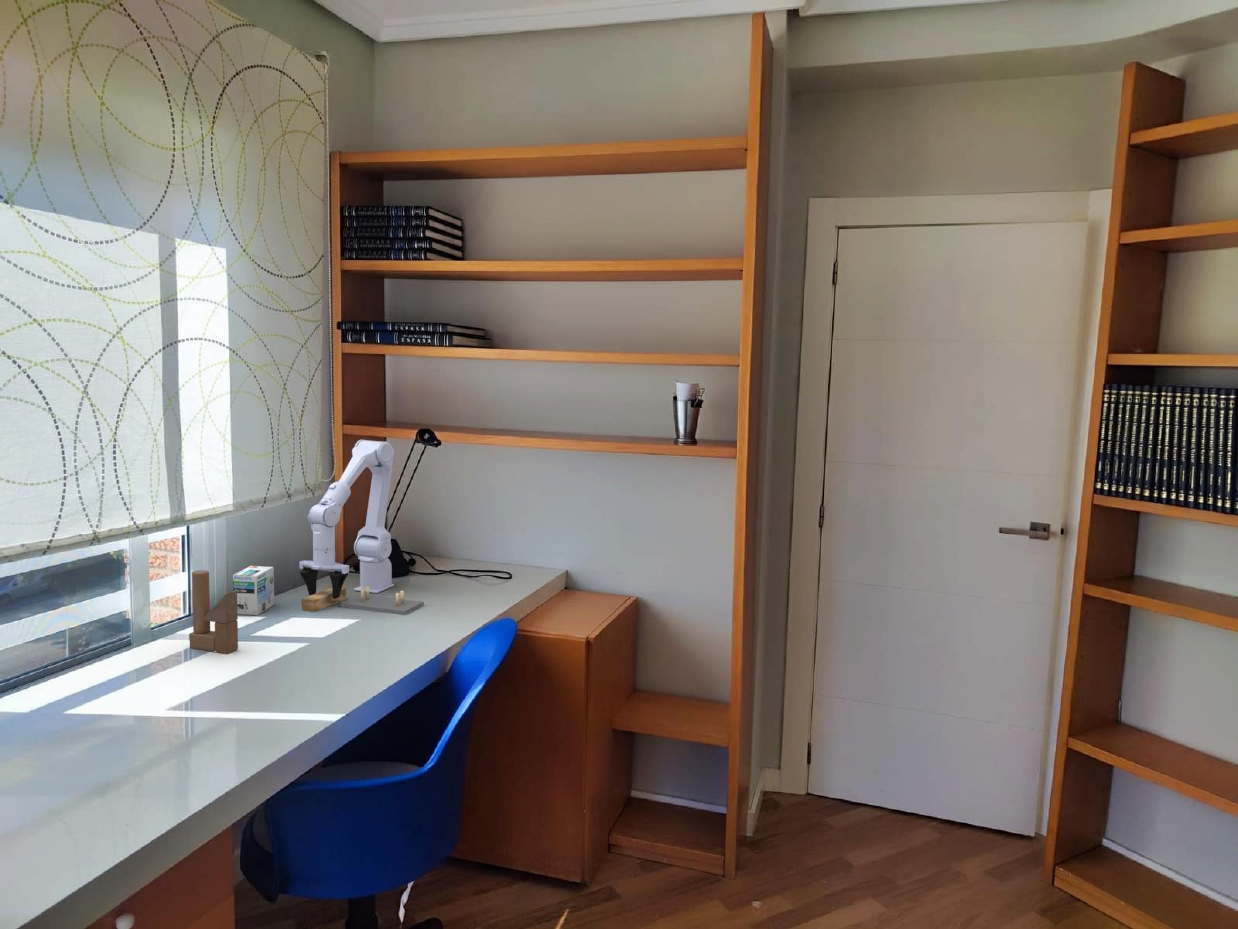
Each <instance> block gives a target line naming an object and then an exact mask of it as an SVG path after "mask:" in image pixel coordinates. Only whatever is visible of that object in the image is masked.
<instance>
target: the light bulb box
mask: <svg viewBox="0 0 1238 929" xmlns="http://www.w3.org/2000/svg"><path fill="white" fill-rule="evenodd" d="M274 572H275V568H274V566H260V565H249V566H248V567H246V568H243V569H242V570H240V571H239V572H236V573H234V574H232V589H233V590H232V592H233V591H236V590H237V614H238V615H243V616H244V615H247V616H248V615H249V616H259V615H260V614H262V613H264V612H265V611H267V610H268V609H270V608H272V607H273V606H275V573H274Z"/></svg>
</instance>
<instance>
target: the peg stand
mask: <svg viewBox="0 0 1238 929" xmlns="http://www.w3.org/2000/svg"><path fill="white" fill-rule="evenodd" d="M339 603H340V604H339V606H341V608H350V609H355V610H356V609H357V610H363V609H364V610H365V611H371V610H372V611H374V612H380V613H386V614H387V613H390V614H394V613H396V614H395V615H402V614H403V615H404V616H406V615H407V613H408V614H410V613H411V612H413V611H415V610H417V609H419V608H421V607H423V606H424V605H425V602H424V601H422V600H413V599H412V600H411V599H406V598H405V590H400V592H395V597H389V596H380V595H375V594H373V595H372V594H370V592H369V586H366V592H364V588H362V589H361V591H360V594H358V595H356V596H354V597H351V598H348V599H345V600H343V601H340V602H339ZM422 605H423V606H422ZM420 606H421V607H420ZM403 615H402V616H403Z"/></svg>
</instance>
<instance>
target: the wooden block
mask: <svg viewBox="0 0 1238 929" xmlns="http://www.w3.org/2000/svg"><path fill="white" fill-rule="evenodd" d="M191 586H192V587H191V588H192V592H191V594H192V596H191V597H192V623H193V624H192V626H193V631H192V632H190V633H189V648H190V649H195V648H196V650H202V651H207V650H210V651H209V652H213V651H216V653H218V652H220V653H219V654H224V653H225V654H226V655H228V654H230V652H231V653H233V652H235V651H238V650H239V635H238V633H239V632H238V631H239V630H238V629H239V628H238V627H239V625H238V624H239V623H238V618H239V617H238V615H239V614H237V590H236V591H233V590H232V591H229V592H227V593H224V595H223V596H222V597H221V598H220V599H219V600H218V601H217V603H216V604H215V605H213V607H212V608H211V598H210V597H211V596H210V594H211V593H210V592H211V590H210V571H209V570H206V569H199V570H194V571H192V572H191ZM211 622H212V623H214V630H211ZM237 649H238V650H237ZM234 650H235V651H234ZM225 654H224V655H225Z"/></svg>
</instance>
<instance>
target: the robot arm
mask: <svg viewBox="0 0 1238 929" xmlns="http://www.w3.org/2000/svg"><path fill="white" fill-rule="evenodd" d="M351 454H352V455H351V456H352V457H351V459H350V461H349V462H348V464H347V465H346V467H345V469H344V471H343V472H342V474H341V477H340V479H339V480H337V481H334V482H332V483H330V486H328V489H327V490H326V492H325V493H324V495H323V496H322V498H321V499H320V501H319V502H318V503H317V504H314V505H313V506H311V508H310V509H309V512H308V514H307V520H308V522H309V524H310V527H311V528H310V529H311V531H312V560H305V559H304V560H301V561H299V569H300V570H301V571H299V574H300V576H301V577H302V580H303V581H304V583H305V586H306V588H307V589H306V590H307V592H308V596H311V595H313V594H316V593H317V580H318V574H319V571H324V572H332V573H330V574H329V579H330V582H331V588H332V596H333V599H336V598H339V597H340V592H341V589H342V588H343V585H344V583H345V581H346V579H347V577H348V575H349V573H350V565H349V564H342V563H339V562H336V525H337V524H338V523H339V522H340V519H341V513H342V508H343V506H344V505H345V503H347V500H348V499H349V498H350V496H351V492H352V490H351V487H352V486H353V484H354V483H355V482H356V480H357V479H358V477H359V476H360V475H361V474H362V473H363V471H364V470H365V469H366V468H368V469H369V470H370V472H371V473H372V474H371V480H370V481H371V482H370V489H369V491H370V492H369V497H368V504H367V512H366V519H365V526H363V527H362V528H361V529H360V530H358V532H357V537H356V540H355V541H354V544H353V551H354V554H355V555H356V556H357V557H358V558H357V559H358V560H359V586H356V587H354V588H353V590H354V591H357V592H361V589H362V588H364V593H366V586H369V593H373V594H378V593H381V592H383V591H385V590H387V589H390V588H392V587H393V586H395V584H394V583H392V582H393V581H392V577H393V576H392V574H393V572H392V571H393V570H392V562H391V560H390V559H389V557H390V555H391V553H392V548H393V547H392V542H391V539H392V535H391V534H390V532H389V531H388V530H387V529H386V528H385V524H386V518H387V510H388V502H389V497H390V496H389V495H390V489H391V483H392V482H391V480H392V472H393V463H394V457H395V456H394V455H395V449H394V448H393V447H392V445H391V443H390V442H388V441H379V440H378V441H376V440H368V439H367V440H366V439H359V440H357V442H356V443H355V444H354V447H353V448H352V449H351Z"/></svg>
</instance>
